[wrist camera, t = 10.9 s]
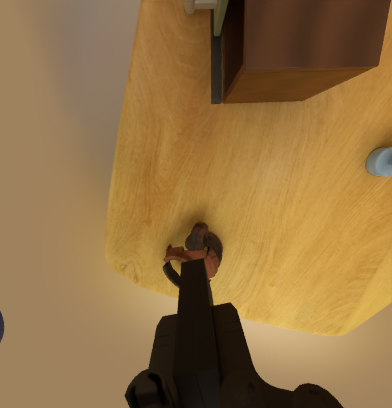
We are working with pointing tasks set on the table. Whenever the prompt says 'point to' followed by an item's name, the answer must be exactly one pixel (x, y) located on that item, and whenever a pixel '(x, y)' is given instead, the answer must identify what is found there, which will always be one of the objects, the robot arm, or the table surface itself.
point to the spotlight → (380, 162)
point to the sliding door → (218, 3)
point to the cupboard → (294, 47)
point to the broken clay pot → (195, 252)
